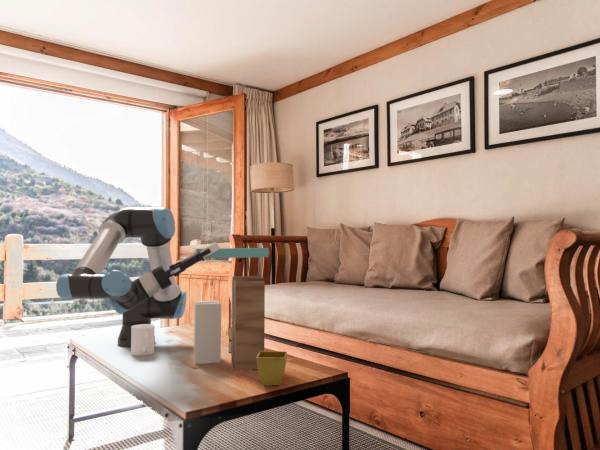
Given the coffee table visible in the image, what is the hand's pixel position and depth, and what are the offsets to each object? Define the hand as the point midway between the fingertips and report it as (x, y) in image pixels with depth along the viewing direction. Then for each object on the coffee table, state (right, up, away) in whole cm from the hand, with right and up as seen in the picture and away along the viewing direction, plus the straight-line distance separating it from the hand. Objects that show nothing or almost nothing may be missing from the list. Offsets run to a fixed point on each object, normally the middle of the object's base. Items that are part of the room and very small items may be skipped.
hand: (217, 245), depth 162 cm
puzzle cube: (+7, -44, +23) cm, 50 cm away
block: (+5, -4, +1) cm, 7 cm away
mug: (-32, -43, +18) cm, 57 cm away
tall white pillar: (-5, -43, +9) cm, 44 cm away
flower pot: (+20, -42, -19) cm, 50 cm away
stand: (+10, -42, +1) cm, 44 cm away
